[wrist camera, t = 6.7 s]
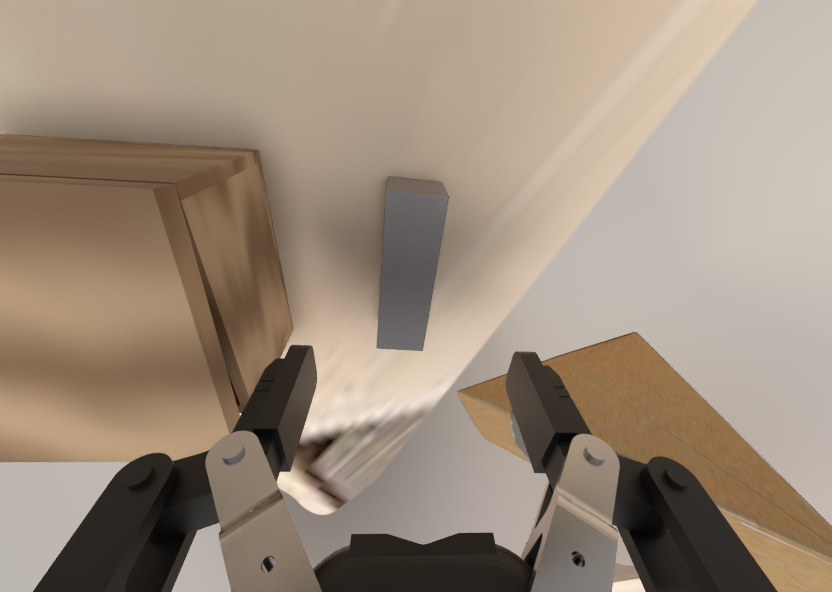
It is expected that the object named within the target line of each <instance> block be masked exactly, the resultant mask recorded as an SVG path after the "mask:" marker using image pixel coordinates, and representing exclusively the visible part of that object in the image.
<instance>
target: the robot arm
mask: <svg viewBox="0 0 832 592" xmlns="http://www.w3.org/2000/svg"><path fill="white" fill-rule="evenodd" d="M316 383H317V371H316V364H315V358H314V351H313V347H312V346H307V345H291V346H290V348H289V350H288V352H287V354H286V356H285V359H280V358H276V359H275V360H274V361H273V362H271V363H270V364H269V365H268V366H267V367H266V368H265V369H264V371H263V373H262V375H261V377H260V379H259V382H258V383H257V385H256V387H255V389H254V392H253V393H252V395H251V397H250V399H249V400H248V402H247V404H246V406H245V408H244V410H243V412H242V414H241V416H240V418H239V420H238V422H237V424H236V426H235V428H234V429H233V431H232V432H231V433H230V434H228V435H226V436H224V437H223V438H221V439H220V440H219V441H217V442H216V443H215V444H214V445H213V446H212V448H211V449H210V450H208V451H206V452H203V453H200V454H196V455H192V456H189V457H185V458H182V459H178V460H175V461H172V459H171V458H170V457H169V456H168V455H166V454H164V453H151V454H147V455H144V456H141V457H139V458H137V459H135V460H133V461H132V462H130V463H129V464H127V465H126V466H125V467H123V468H122V469H121V470H120V471H119V472H118V473H117V474H116V475H115V476H114V478H113V479H112V480H111V482H110V483H109V484H108V486H107V488H106V489H105V490H104V492H103V493H102V494H101V496H100V497H99V499H98V500H97V501H96V503H95V504H94V506H93V507H92V509H91V510H90V511H89V513H88V514H87V516H86V517H85V519H84V520H83V521H82V523H81V524H80V526H79V527H78V528H77V530H76V531H75V533H74V534H73V536H72V537H71V538H70V540H69V541H68V543H67V544H66V546H65V547H64V548H63V550H62V551H61V553H60V554H59V555H58V557H57V558H56V560H55V561H54V562H53V564H52V565H51V567H50V568H49V570H48V571H47V573H46V574H45V575H44V577H43V578H42V580H41V581H40V582H39V584H38V585H37V587H36V588H35V590H34V591H33V592H171V591H172V589H173V586H174V584H175V582H176V579H177V577H178V575H179V572H180V569H181V567H182V565H183V563H184V560H185V558H186V556H187V553H188V551H189V549H190V546H191V544H192V542H193V539H194V537H195V534H196V532H197V530H199V529H202V528H205V527H208V526H211V525H213V524H216V523H220V527H221V532H220V533H219V539H220V545H221V549H222V554H223V558H224V562H225V566H226V570H227V575H228V579H229V583H230V587H231V592H612V585H613V577H614V568H615V560H616V552H617V543H618V533H617V530H616V529H615V528H614V527H612V524H613V525H616V526H617V528H618V530H619V533H620V535H621V537H622V539H623V542H624V544H625V546H626V548H627V551H628V553H629V555H630V557H631V559H632V562H633V564H634V566H635V568H636V571H637V573H638V575H639V577H640V580H641V582H642V584H643V586H644V589H645V591H646V592H778V591H777V590H776V589H775V587H774V586H773V584H772V583H771V582H770V580H769V579H768V577H767V576H766V574H765V573H764V572H763V570H762V569H761V567H760V566H759V565H758V563H757V562H756V560H755V559H754V558H753V556H752V555H751V553H750V552H749V551H748V549H747V548H746V546H745V545H744V544H743V542H742V541H741V539H740V538H739V537H738V535H737V534H736V532H735V531H734V530H733V528H732V527H731V525H730V524H729V523H728V521H727V520H726V518H725V517H724V516H723V514H722V513H721V511H720V510H719V509H718V507H717V506H716V504H715V503H714V502H713V500H712V499H711V497H710V496H709V495H708V493H707V492H706V490H705V489H704V488H703V486H702V485H701V483H700V482H699V481H698V479H697V478H696V477H695V476H694V475H693V474H692V473H691V472H690V471H689V470H688V469H687V468H686V467H684V466H683V465H681V464H680V463H678V462H676V461H674V460H672V459H670V458H666V457H661V456H657V457H653V458H651V459H650V461H649V462H648V463H647V464H645V463H642V462H638V461H635V460H632V459H628V458H625V457H622V456H619V455H617V454H616V453H615V452H614V451H613V449H612V448H611V447H610V446H609V445H608V444H607V443H605V442H604V441H603V440H601V439H599V438H598V437H595V436H593V435H592V433H591V432H590V430H589V428H588V426H587V424H586V423H585V421H584V419H583V417H582V416H581V414H580V412H579V410H578V408H577V407H576V405H575V403H574V401H573V399H572V398H571V397H570V394H569V392H568V390H567V389H565V385H564V383H563V381H562V380H561V378H560V376H559V375H558V374H557V373H556V372H555V371H554V370H553V369H552V368H551V367H550V366H549V365H542V363H541V361H540V359H539V357H538V355H537V354H536V353H535V352H515V353H514V355H513V358H512V361H511V364H510V367H509V370H508V374H507V377H506V392H507V395H508V398H509V401H510V404H511V407H512V409H513V412H514V415H515V418H516V421H517V424H518V427H519V430H520V432H521V435H522V438H523V441H524V444H525V447H526V450H527V453H528V455H529V458H530V461H531V464H532V467H533V470H534V473H546V475H547V477H548V480H549V482H548V484H547V487H546V489H545V492H544V495H543V498H542V501H541V504H540V507H539V510H538V513H537V516H536V519H535V523H534V525H533V528H532V531H531V534H530V536H529V539H528V541H527V543H526V545H525V548H524V550H523V553H522V555H521V558H520V557H519V556H517V555H516V554H514V553H513V552H511V551H509V550H508V549H506V548H504V547H502V546H500V545H497V544H495V540H494V536H493V533H458V534H455V535H452V536H449V537H446V538H444V539H440V540H438V541H435V542H432V543H429V544H425V545H422V544H418V543H414V542H412V541H408V540H405V539H401V538H398V537H395V536H392V535H389V534H352V535H351V542H350V545H349V546H346V547H343V548H341V549H340V550H337V551H335V552H333V553H332V554H330V555H329V556H327V557H326V558H325V559H324V560H322V561H321V562H320V563H319V564H318V565H317V566H316V567H315V568H314V569H312V566H311V564H310V562H309V559H308V557H307V554H306V552H305V549H304V547H303V544H302V542H301V539H300V537H299V535H298V532H297V530H296V527H295V525H294V523H293V520H292V518H291V515H290V513H289V510H288V508H287V506H286V503H285V501H284V498H283V496H282V494H281V493H280V490H279V488H278V485H277V483H276V482H277V479H278V476H279V473H280V472H290V471H291V467H292V464H293V461H294V458H295V454H296V451H297V448H298V444H299V441H300V438H301V435H302V431H303V428H304V425H305V422H306V418H307V415H308V412H309V409H310V405H311V402H312V399H313V395H314V392H315V389H316Z"/></svg>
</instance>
